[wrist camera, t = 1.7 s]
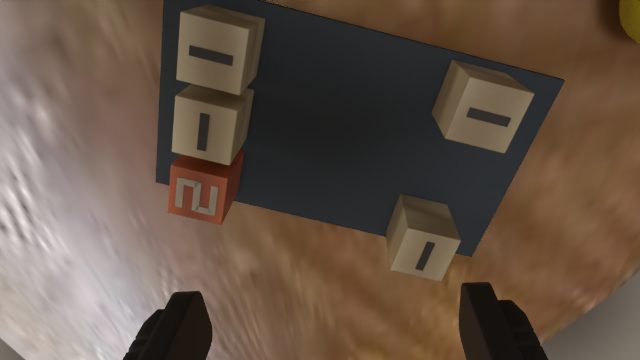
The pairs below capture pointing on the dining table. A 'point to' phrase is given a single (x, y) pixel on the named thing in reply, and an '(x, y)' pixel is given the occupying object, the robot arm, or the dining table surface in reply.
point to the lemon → (630, 18)
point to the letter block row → (466, 127)
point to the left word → (215, 81)
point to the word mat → (354, 123)
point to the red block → (204, 187)
